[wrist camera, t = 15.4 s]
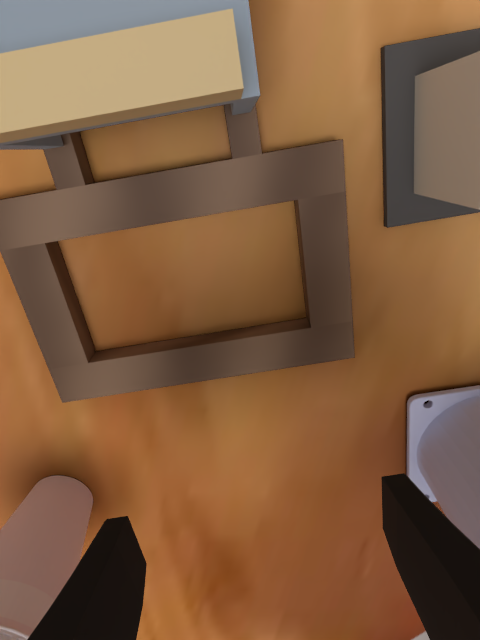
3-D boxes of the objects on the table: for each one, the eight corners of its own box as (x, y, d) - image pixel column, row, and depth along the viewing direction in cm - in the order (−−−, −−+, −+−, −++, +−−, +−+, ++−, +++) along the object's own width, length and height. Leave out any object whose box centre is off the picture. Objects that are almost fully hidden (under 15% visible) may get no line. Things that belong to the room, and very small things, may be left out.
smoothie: (18, 445, 23) (-254, 826, 10) (126, 474, 24) (8, 851, 11) (2, 521, 25) (-234, 908, 12) (102, 544, 26) (-20, 923, 13)
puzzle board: (316, -172, 13) (324, -201, 12) (348, 346, 21) (354, 357, 20) (-115, -81, 14) (-145, -101, 13) (71, 389, 21) (62, 402, 20)
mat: (563, 14, 15) (570, 11, 15) (538, 200, 18) (544, 201, 18) (381, 48, 16) (384, 45, 15) (384, 226, 18) (387, 227, 18)
